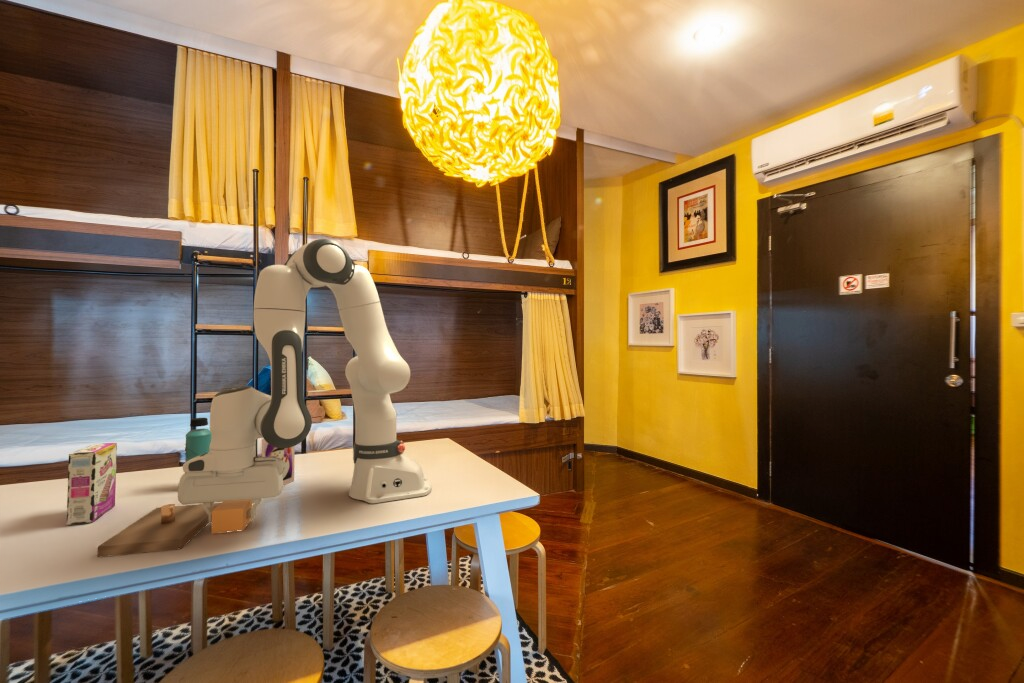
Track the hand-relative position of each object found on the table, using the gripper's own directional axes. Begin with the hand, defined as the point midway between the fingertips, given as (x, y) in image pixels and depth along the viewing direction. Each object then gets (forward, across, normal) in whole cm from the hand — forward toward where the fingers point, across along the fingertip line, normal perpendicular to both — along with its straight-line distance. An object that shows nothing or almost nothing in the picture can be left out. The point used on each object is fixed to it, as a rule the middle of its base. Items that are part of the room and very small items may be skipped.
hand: (232, 519), depth 95 cm
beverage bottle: (+2, +20, -32) cm, 38 cm away
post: (0, +13, -1) cm, 13 cm away
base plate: (+2, +13, -1) cm, 13 cm away
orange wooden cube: (+2, 0, 0) cm, 2 cm away
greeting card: (+2, 0, -28) cm, 28 cm away
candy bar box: (+2, +35, -15) cm, 38 cm away
